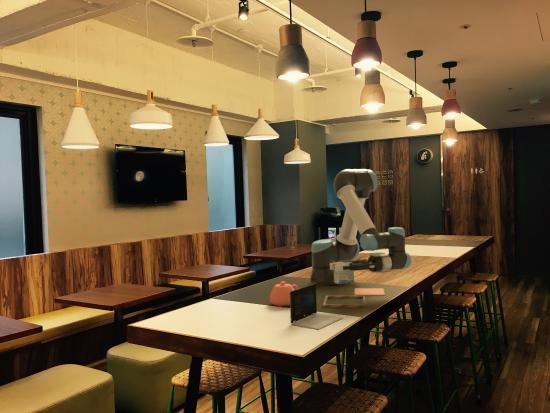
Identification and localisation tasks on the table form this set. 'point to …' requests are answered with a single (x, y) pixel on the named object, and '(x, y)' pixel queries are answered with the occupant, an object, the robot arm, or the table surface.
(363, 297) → the walnut frame
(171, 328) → the table surface
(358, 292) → the terracotta mat
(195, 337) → the table surface
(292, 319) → the laptop
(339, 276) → the medicine box
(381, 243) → the robot arm
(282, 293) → the sugar bowl
